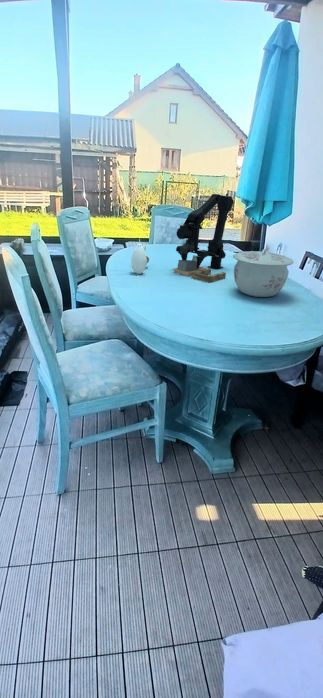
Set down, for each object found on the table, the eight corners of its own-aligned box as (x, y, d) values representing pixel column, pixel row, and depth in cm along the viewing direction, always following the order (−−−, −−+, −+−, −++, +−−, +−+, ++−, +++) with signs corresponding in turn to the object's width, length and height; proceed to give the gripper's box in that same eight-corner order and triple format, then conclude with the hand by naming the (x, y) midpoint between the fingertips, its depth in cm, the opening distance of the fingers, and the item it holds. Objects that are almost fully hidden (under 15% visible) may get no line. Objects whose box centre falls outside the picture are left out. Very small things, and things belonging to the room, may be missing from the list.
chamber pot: (244, 303, 165) (251, 255, 157) (219, 285, 189) (224, 243, 180) (299, 301, 173) (309, 255, 164) (269, 284, 197) (276, 243, 188)
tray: (192, 268, 220) (192, 264, 219) (206, 271, 214) (206, 268, 213) (173, 272, 208) (174, 268, 208) (188, 276, 203) (188, 272, 202)
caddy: (190, 269, 215) (193, 254, 212) (198, 271, 212) (201, 256, 209) (177, 269, 206) (179, 254, 204) (184, 271, 203) (187, 256, 200)
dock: (207, 273, 210) (208, 268, 209) (225, 278, 203) (225, 272, 202) (191, 278, 200) (191, 272, 198) (209, 282, 193) (209, 277, 192)
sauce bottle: (139, 276, 198) (140, 240, 190) (128, 273, 202) (128, 238, 194) (149, 273, 203) (150, 239, 196) (137, 271, 207) (138, 237, 200)
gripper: (170, 236, 203) (168, 265, 210) (198, 241, 192) (195, 272, 199) (183, 234, 211) (181, 262, 218) (211, 239, 200) (207, 269, 207)
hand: (190, 266), depth 210 cm, fingers open, 9 cm apart
